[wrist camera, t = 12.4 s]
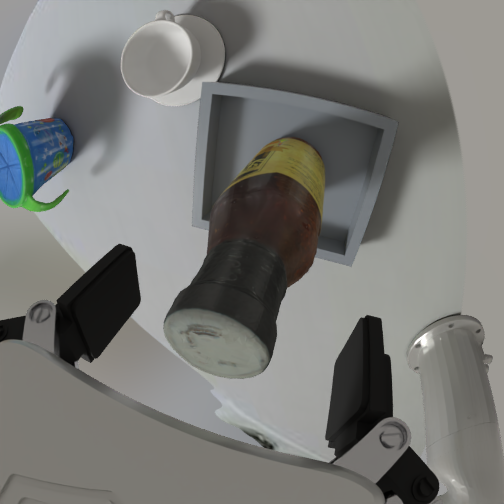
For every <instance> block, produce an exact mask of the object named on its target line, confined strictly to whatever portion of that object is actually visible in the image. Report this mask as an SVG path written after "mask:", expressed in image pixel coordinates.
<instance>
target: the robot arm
mask: <svg viewBox="0 0 504 504" xmlns="http://www.w3.org/2000/svg"><path fill="white" fill-rule="evenodd" d="M140 301H141V297H140V290H139V283H138V275H137V267H136V258H135V253H134V252H133V250H132V248H131V247H128V246H125V245H122V244H118V245H116V246H115V247H114V248H113V249H112V250H111V251H109V252H108V253H107V254H106V255H105V256H104V257H103V258H101V259H100V260H99V261H98V262H97V263H96V264H95V265H94V266H92V267H91V268H90V269H89V270H88V271H87V272H86V273H85V274H84V275H83V276H82V277H81V278H80V279H78V280H77V281H76V282H75V283H74V284H73V285H72V286H71V287H70V288H69V289H68V290H67V291H66V292H65V293H64V294H63V295H62V296H61V297H60V298H59V299H58V300H57V304H56V305H54V303H52V302H51V301H48V300H41V301H38V302H36V303H34V304H33V305H31V306H30V308H29V309H28V310H27V314H26V316H21V317H16V318H11V319H6V320H1V321H0V504H504V456H503V450H502V443H501V437H500V430H499V425H498V419H497V414H496V409H495V404H494V400H493V395H492V391H491V387H490V383H489V380H488V375H487V373H488V370H489V366H488V365H487V364H490V363H491V362H492V359H493V357H492V356H491V355H486V354H485V355H484V352H483V349H482V344H483V340H484V330H483V327H482V325H481V323H480V322H479V321H478V320H477V319H476V318H474V317H472V316H467V315H457V316H451V317H447V318H444V319H442V320H439V321H437V322H435V323H433V324H431V325H429V326H428V327H427V328H425V329H424V330H422V331H421V332H420V333H419V334H418V335H417V336H416V337H415V338H414V340H413V341H412V342H411V344H410V346H409V348H408V351H407V360H408V365H409V367H410V368H411V369H412V370H413V371H414V372H416V373H418V374H420V379H421V387H422V395H423V405H424V416H425V431H426V452H427V465H428V466H427V465H426V464H425V463H424V462H423V461H422V460H421V458H420V457H419V456H418V455H417V454H416V453H415V452H414V451H413V450H412V448H411V447H410V446H409V445H410V442H411V432H410V429H409V427H408V426H407V425H406V423H405V422H403V421H402V420H401V419H398V418H395V417H393V396H392V373H391V360H390V356H389V355H387V354H384V343H383V331H382V321H381V318H377V317H373V316H369V315H366V316H365V318H360V319H359V321H358V323H357V325H356V327H355V328H354V330H353V332H352V334H351V336H350V337H349V339H348V341H347V343H346V344H345V346H344V348H343V349H342V351H341V353H340V355H339V356H338V358H337V360H336V362H335V366H334V375H333V385H332V393H331V401H330V409H329V416H328V423H327V429H326V436H325V439H326V440H329V444H328V447H329V448H335V454H334V455H335V456H336V457H335V458H334V459H333V460H331V461H330V462H329V463H327V462H322V461H318V460H313V459H309V458H305V457H300V456H295V455H290V454H286V453H282V452H278V451H274V450H270V449H266V448H262V447H258V446H255V445H251V444H248V443H244V442H241V441H237V440H234V439H231V438H228V437H225V436H221V435H218V434H215V433H213V432H210V431H207V430H204V429H201V428H198V427H196V426H193V425H191V424H188V423H185V422H183V421H180V420H178V419H175V418H173V417H171V416H168V415H166V414H163V413H161V412H159V411H157V410H155V409H152V408H150V407H148V406H146V405H144V404H141V403H140V402H137V401H135V400H133V399H131V398H129V397H127V396H125V395H123V394H121V393H120V392H118V391H115V390H114V389H112V388H110V387H108V386H106V385H105V384H103V383H101V382H99V381H98V380H96V379H94V378H92V377H91V376H89V375H87V374H85V373H84V372H82V371H81V370H79V364H78V360H79V358H80V357H82V358H83V359H85V360H86V361H88V362H90V363H91V362H92V361H93V360H94V358H98V357H99V356H100V355H101V353H102V352H103V350H104V349H105V348H106V347H107V345H108V344H109V343H110V342H111V340H112V339H113V338H114V336H115V335H116V334H117V332H118V331H119V330H120V329H121V327H122V326H123V325H124V323H125V322H126V321H127V320H128V319H129V317H130V316H131V315H132V314H133V312H134V311H135V310H136V309H137V307H138V306H139V304H140ZM484 363H487V364H484ZM438 480H439V481H440V482H441V483H443V484H444V485H445V486H446V487H447V490H448V491H447V492H446V493H445V494H443V495H440V496H437V494H438V491H439V481H438Z"/></svg>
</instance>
